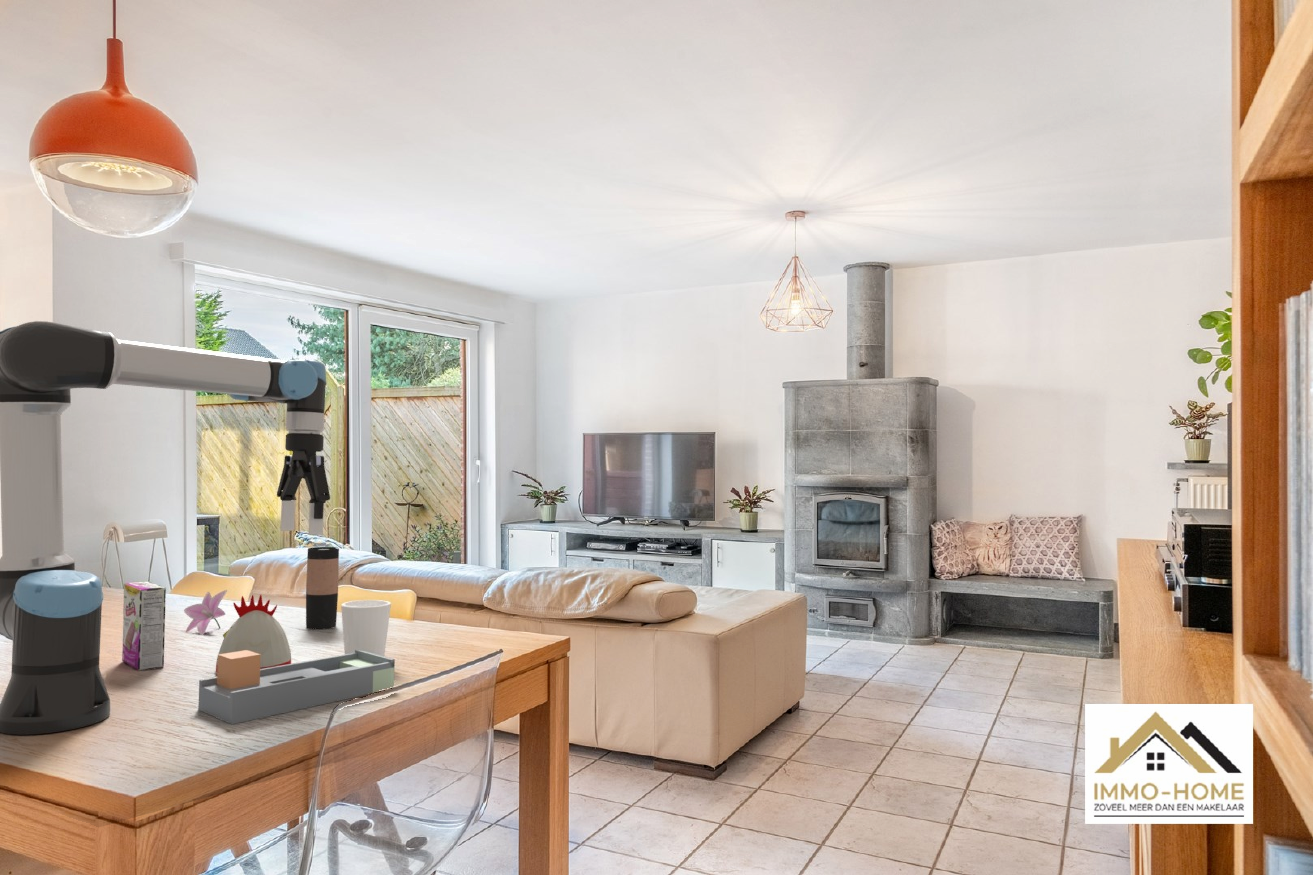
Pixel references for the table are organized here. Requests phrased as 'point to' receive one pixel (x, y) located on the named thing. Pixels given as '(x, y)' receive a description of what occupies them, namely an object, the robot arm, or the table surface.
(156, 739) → the table surface
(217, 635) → the table surface
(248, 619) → the kitchen timer
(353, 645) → the cup
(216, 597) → the lily
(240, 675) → the block
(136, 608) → the candy bar box
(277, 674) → the box
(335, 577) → the travel mug
